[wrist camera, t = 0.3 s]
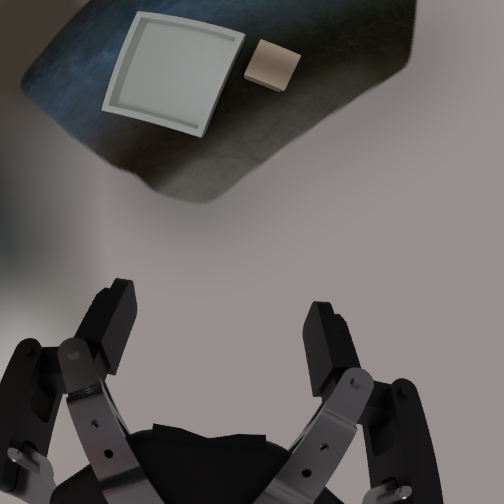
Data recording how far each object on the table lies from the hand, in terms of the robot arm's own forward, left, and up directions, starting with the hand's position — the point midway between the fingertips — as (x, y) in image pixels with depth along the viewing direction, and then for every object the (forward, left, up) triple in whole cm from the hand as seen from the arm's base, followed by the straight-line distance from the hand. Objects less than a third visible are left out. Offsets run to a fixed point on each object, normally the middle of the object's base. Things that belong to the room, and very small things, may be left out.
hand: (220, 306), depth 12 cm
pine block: (-13, -1, -27) cm, 30 cm away
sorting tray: (-9, -12, -27) cm, 31 cm away
